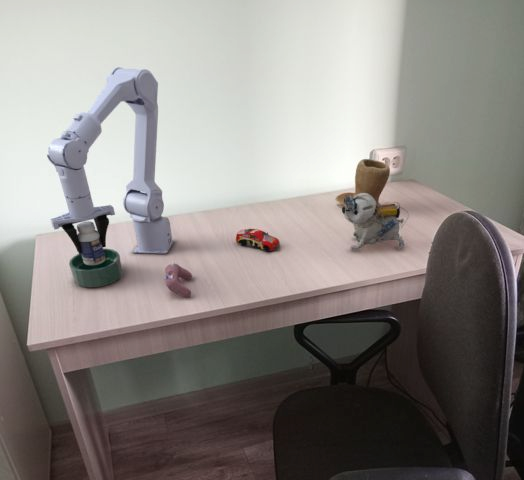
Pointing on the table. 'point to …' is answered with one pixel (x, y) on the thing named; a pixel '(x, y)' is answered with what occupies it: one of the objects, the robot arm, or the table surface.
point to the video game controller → (177, 279)
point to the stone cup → (368, 179)
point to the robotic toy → (372, 220)
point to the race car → (257, 239)
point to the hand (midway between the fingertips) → (91, 248)
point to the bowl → (97, 270)
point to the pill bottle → (90, 244)
